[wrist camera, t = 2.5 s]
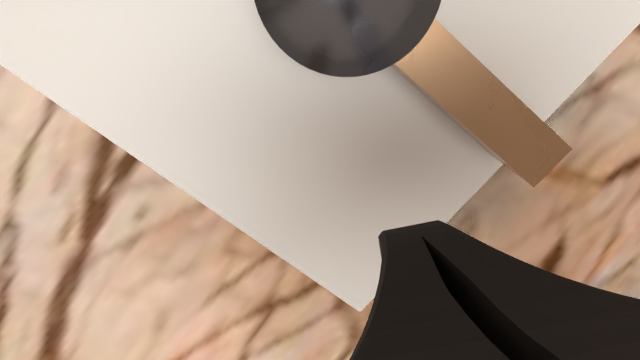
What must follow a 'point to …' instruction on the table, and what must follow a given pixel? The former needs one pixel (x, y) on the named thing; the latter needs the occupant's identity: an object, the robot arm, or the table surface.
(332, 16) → the grey rounded handled piece
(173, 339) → the table surface
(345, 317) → the table surface
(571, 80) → the post base
